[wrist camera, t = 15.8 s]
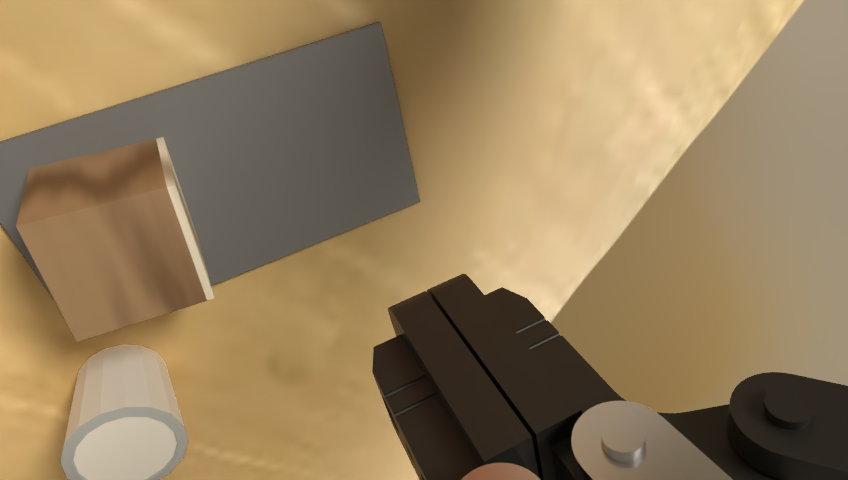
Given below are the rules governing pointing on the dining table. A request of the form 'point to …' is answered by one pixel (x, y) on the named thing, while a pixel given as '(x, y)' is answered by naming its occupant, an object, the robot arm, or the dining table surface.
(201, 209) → the placemat
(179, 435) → the shot glass
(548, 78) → the dining table surface
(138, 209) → the walnut cube
